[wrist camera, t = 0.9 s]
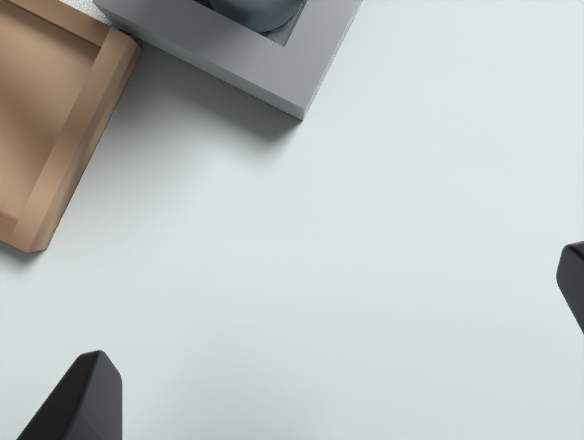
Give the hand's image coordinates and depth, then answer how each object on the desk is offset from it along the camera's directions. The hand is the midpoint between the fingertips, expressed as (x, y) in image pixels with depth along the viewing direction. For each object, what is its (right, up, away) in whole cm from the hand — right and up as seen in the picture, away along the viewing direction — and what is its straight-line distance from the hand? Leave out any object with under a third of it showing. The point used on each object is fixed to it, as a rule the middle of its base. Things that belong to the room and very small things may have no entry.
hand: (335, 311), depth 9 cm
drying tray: (-16, +8, +14) cm, 23 cm away
